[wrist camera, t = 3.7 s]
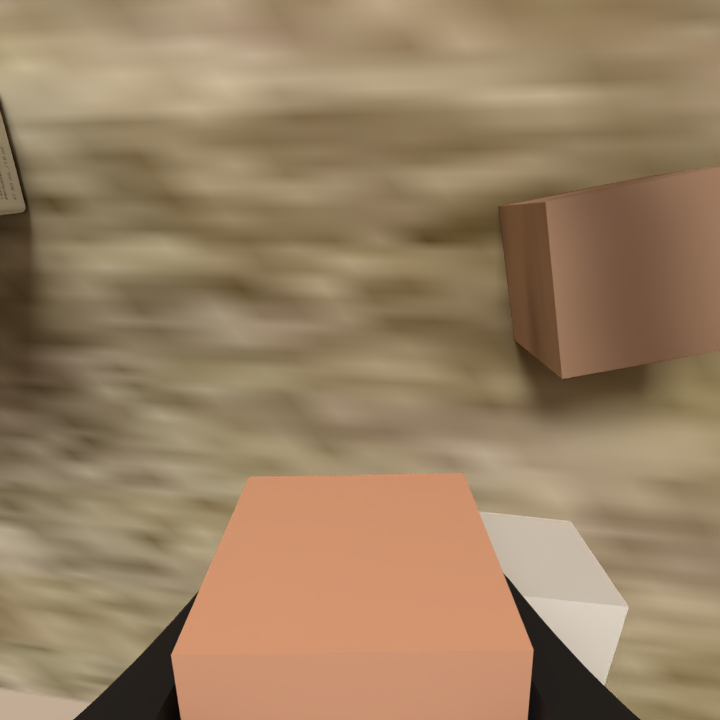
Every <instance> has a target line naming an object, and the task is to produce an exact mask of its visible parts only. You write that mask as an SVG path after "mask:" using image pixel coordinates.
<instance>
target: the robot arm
mask: <svg viewBox="0 0 720 720" xmlns="http://www.w3.org/2000/svg"><path fill="white" fill-rule="evenodd" d="M503 574H504V573H503ZM504 576H505V579H506V581H507V584H508V587H509V589H510V592H511V594H512V597H513V599H514V602H515V604H516V607H517V609H518V612H519V614H520V617H521V619H522V622H523V624H524V627H525V629H526V632H527V634H528V637H529V639H530V642H531V645H532V647H533V650H534V651H533V663H532V674H531V686H530V697H529V709H528V720H640V719H639V718H638V717H637V716H636V715H634V714H633V713H632V712H631V711H630V710H629V709H628V708H627V707H626V706H625V705H624V704H622V703H621V702H620V701H619V700H618V699H617V698H616V697H615V696H614V695H613V694H612V693H611V692H610V691H609V690H608V689H607V688H606V687H605V686H604V685H603V684H602V683H601V682H600V681H599V680H598V679H597V678H596V677H595V676H594V675H593V674H592V673H591V672H590V671H589V670H588V669H587V668H586V667H585V666H584V665H583V664H582V663H581V662H580V661H579V660H578V658H577V657H576V656H575V655H574V654H573V653H572V652H571V651H570V650H569V649H568V648H567V646H566V645H565V644H564V643H563V642H562V641H561V640H560V639H559V638H558V637H557V635H556V634H555V633H554V632H553V631H552V630H551V629H550V628H549V626H548V625H547V624H546V623H545V622H544V621H543V620H542V618H541V617H540V616H539V615H538V614H537V612H536V611H535V610H534V609H533V608H532V607H531V605H530V604H529V603H528V602H527V600H526V599H525V598H524V597H523V596H522V594H521V593H520V592H519V591H518V589H517V588H516V587H515V586H514V584H513V583H512V582H511V581H510V579H509V578H508V577H507V576H506V575H505V574H504ZM198 592H199V591H198ZM197 595H198V593H197V594H196V595H195V596H194V597H193V598H192V599H191V601H190V602H189V603H188V604H187V605H186V606H185V607H184V608H183V610H182V611H181V612H180V613H179V614H178V615H177V616H176V617H175V619H174V620H173V621H172V622H171V623H170V624H169V625H168V626H167V627H166V629H165V630H164V631H163V632H162V633H161V634H160V635H159V636H158V637H157V638H156V639H155V640H154V641H153V643H152V644H151V645H150V646H149V647H148V648H147V649H146V650H145V651H144V652H143V653H142V654H141V655H140V656H139V657H138V658H137V659H136V660H135V662H134V663H132V664H131V665H130V666H129V667H128V668H127V669H126V670H125V671H124V672H123V673H122V674H121V675H120V676H119V677H118V678H117V679H116V680H115V681H114V682H113V683H112V684H111V685H110V686H109V687H108V688H107V689H106V690H105V691H104V692H103V693H102V694H101V695H100V696H99V697H98V698H97V699H96V700H95V701H93V702H92V703H91V704H90V705H89V706H88V707H87V708H86V709H85V710H84V711H83V712H81V713H80V714H79V715H78V716H77V717H76V718H75V719H74V720H181V717H180V710H179V704H178V697H177V691H176V684H175V678H174V671H173V665H172V658H171V654H172V652H173V650H174V647H175V645H176V643H177V640H178V638H179V636H180V634H181V631H182V629H183V627H184V624H185V622H186V620H187V618H188V615H189V613H190V611H191V608H192V606H193V604H194V602H195V599H196V597H197Z"/></svg>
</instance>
